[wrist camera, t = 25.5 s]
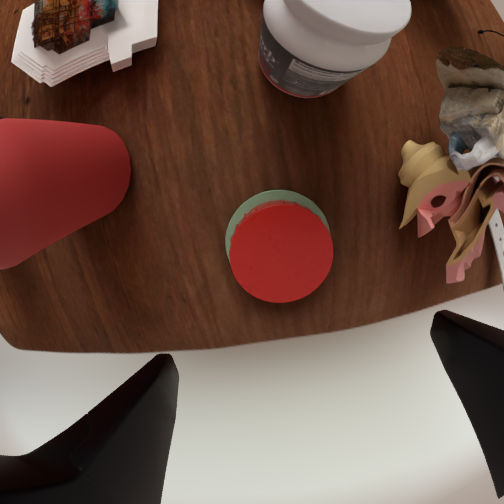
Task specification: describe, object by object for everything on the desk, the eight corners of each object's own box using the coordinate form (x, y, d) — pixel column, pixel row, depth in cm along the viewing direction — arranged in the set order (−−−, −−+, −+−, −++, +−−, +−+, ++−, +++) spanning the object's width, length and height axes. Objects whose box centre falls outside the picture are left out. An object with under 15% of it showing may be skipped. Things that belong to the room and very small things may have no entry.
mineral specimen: (24, 17, 9) (-4, -17, 3) (146, -33, 11) (152, -82, 5) (35, 123, 14) (-10, 110, 7) (173, 63, 16) (185, 20, 10)
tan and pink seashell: (347, 194, 18) (427, 85, 9) (412, 166, 21) (471, 96, 13) (423, 307, 15) (542, 243, 7) (469, 247, 19) (543, 192, 10)
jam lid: (328, 285, 19) (334, 296, 17) (237, 297, 19) (237, 309, 18) (325, 194, 17) (332, 198, 15) (223, 206, 17) (220, 211, 16)
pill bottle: (259, 22, 13) (269, -74, 4) (342, 34, 13) (411, -38, 4) (255, 96, 15) (264, 27, 6) (343, 106, 15) (433, 68, 6)
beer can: (89, 109, 15) (-45, 94, 3) (153, 158, 16) (16, 176, 5) (50, 184, 16) (-72, 226, 5) (105, 234, 18) (-11, 320, 7)
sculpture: (446, 115, 14) (400, 163, 15) (433, 22, 8) (376, 59, 9) (534, 174, 9) (498, 240, 10) (557, 78, 3) (540, 139, 4)
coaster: (234, 294, 20) (234, 297, 19) (218, 197, 17) (217, 198, 17) (330, 281, 19) (332, 284, 19) (325, 184, 17) (327, 185, 17)
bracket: (506, 296, 17) (521, 148, 10) (474, 264, 22) (468, 129, 15) (516, 286, 17) (531, 141, 9) (484, 257, 22) (480, 123, 14)
